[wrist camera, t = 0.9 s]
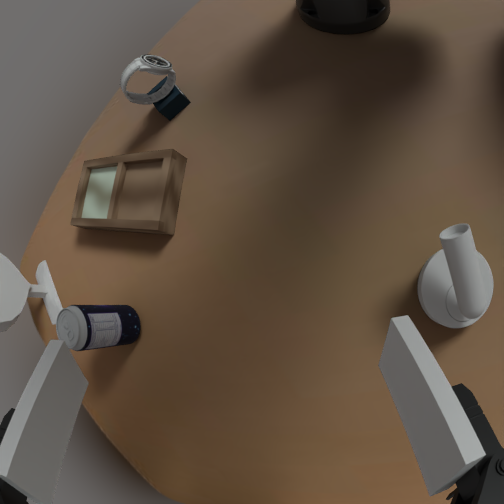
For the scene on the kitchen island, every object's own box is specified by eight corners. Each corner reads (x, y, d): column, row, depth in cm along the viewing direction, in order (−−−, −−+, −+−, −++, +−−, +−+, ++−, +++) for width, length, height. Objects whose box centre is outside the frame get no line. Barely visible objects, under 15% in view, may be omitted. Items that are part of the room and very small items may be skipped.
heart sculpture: (33, 268, 55) (-40, 258, 38) (43, 252, 54) (-33, 239, 37) (55, 333, 50) (-26, 336, 33) (67, 319, 49) (-20, 319, 32)
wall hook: (492, 202, 21) (532, 308, 19) (463, 224, 30) (494, 305, 28) (413, 242, 24) (454, 354, 21) (401, 255, 32) (432, 338, 30)
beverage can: (132, 297, 44) (68, 295, 33) (150, 330, 42) (87, 337, 31) (111, 318, 45) (49, 320, 34) (128, 350, 43) (65, 360, 32)
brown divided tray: (98, 167, 50) (84, 161, 47) (187, 158, 44) (172, 148, 40) (86, 228, 49) (70, 224, 46) (173, 234, 43) (157, 230, 39)
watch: (200, 94, 45) (161, 54, 34) (161, 128, 46) (116, 95, 36) (185, 77, 46) (147, 40, 36) (149, 109, 48) (107, 78, 38)
